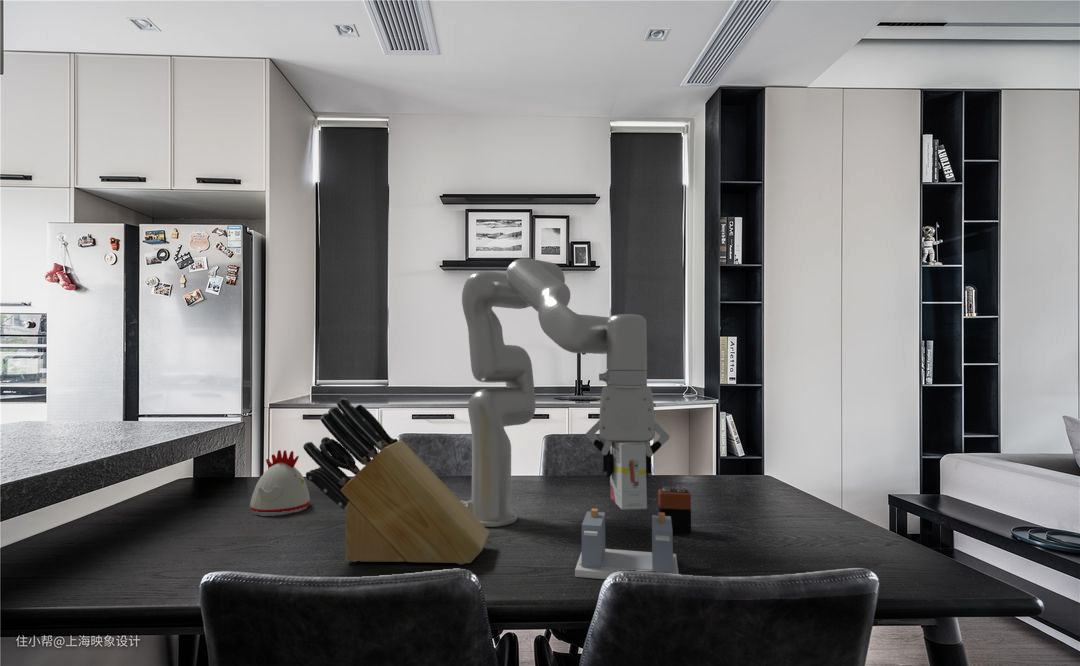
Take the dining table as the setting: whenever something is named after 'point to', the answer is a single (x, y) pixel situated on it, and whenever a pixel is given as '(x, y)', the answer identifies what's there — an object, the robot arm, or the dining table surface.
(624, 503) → the ink box
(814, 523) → the dining table surface
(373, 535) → the knife block
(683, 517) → the battery
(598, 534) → the board
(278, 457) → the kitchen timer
